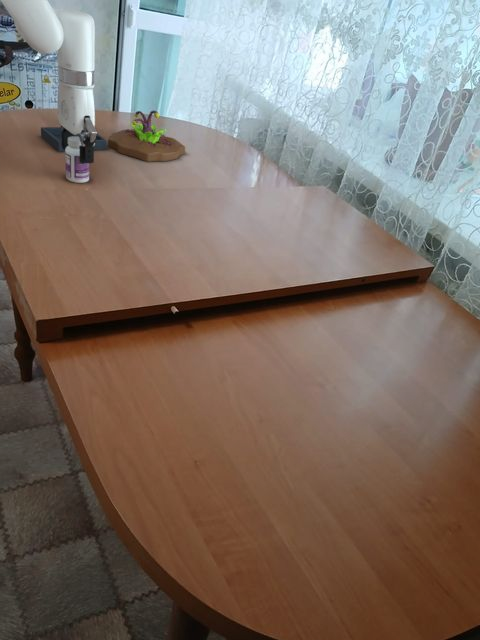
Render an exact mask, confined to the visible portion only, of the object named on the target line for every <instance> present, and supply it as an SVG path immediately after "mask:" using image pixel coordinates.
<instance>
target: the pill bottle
mask: <svg viewBox="0 0 480 640" xmlns="http://www.w3.org/2000/svg"><path fill="white" fill-rule="evenodd" d="M84 140H85V139H84ZM68 145H69V146H67V147H66V149H65V152H64V155H65V156H64V158H65V178H66V180H68V181H69V182H72V183H75V184H84V183H87V182H88V181H90V163H86V164H81V163H80V149H79V146H80V145H81V142H80V139H79V137H77V136H72V137H68Z"/></svg>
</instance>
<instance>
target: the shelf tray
mask: <svg viewBox="0 0 480 640" xmlns="http://www.w3.org/2000/svg"><path fill="white" fill-rule="evenodd" d="M84 131H85V130H82V131H81V132H84ZM76 136H77V137H79V135H78V134H77V135H76ZM83 137H84V139H86V137H88V136H83ZM40 138H41V139H43V140H44V141H45V142H46V143H48V144H49V145H50V146H51V147H52V148H54V149H55V150H56V151H57V152H58V153H61V152H64V153H65V149H63V148H62V130H61V126H40ZM107 141H108V140H107V139H105V137H103V136H102V135H100V134H99V133H97V135H96V141H95V146H94V151H106V150H107V148H108V145H107V143H108V142H107Z"/></svg>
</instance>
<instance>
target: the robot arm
mask: <svg viewBox="0 0 480 640" xmlns="http://www.w3.org/2000/svg"><path fill="white" fill-rule="evenodd" d="M0 2H1V3H2V6H3V7H4V8H5V10H6V11H7V12H8V14H9V16H10V17H11V19H12V21H13V23H14V27H15V29H16V31H17V33H18V34H19V36H20V37H21V38H22V39H23V40H24V41H25V42H26V44H28V46H29V47H30V48H31V49H33V50H34V51H36V52H37V53H40V54H43V55H51V54H52V55H53V54H55V53H56V52H57V76H58V77H57V78H58V79H57V81H58V86H57V105H56V107H57V108H56V109H57V111H56V112H57V114H56V115H57V116H56V117H57V122H58V123H59V125H60V127H61V130H62V148H63V149H66V147H67V146H69V145H68V137H72V136H76V135H77V134H78V135H79V139H80V142H81V145H80V146H79V149H80V163H81V164H86V163H89V164H93V163H94V162H95V150H94V146H95V141H96V135H97V134H98V131H97V129H96V115H95V114H96V113H95V98H94V88H95V85H96V84H95V82H96V81H95V80H96V79H95V76H96V75H95V74H96V73H95V69H96V67H95V65H96V64H95V62H96V61H95V60H96V59H95V57H96V56H95V53H96V52H95V51H96V44H95V43H96V42H95V41H96V39H95V37H96V34H95V33H96V25H95V19H94V18H93V16H92V15H91V14H89V13H87V12H85V11H81V10H76V9H67V8H66V9H64V8H63V9H60V8H56V7H52V5H51V4H50V2H49V1H48V0H0ZM82 130H85V131H84V132H81V131H82ZM83 136H88V137H86V139H85V140H84V137H83Z"/></svg>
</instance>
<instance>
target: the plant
mask: <svg viewBox="0 0 480 640" xmlns="http://www.w3.org/2000/svg"><path fill="white" fill-rule="evenodd" d="M140 115H141V117H142V118H139V117H140ZM153 115H154V118H156V119H160V112H158V111H157V110H151V111H150V112H149V114H148V116H147V117H146V116H145V114H144V113H143V112H142V111H140V110H137V111H136V112H135V113H134V116H135V117H136V118H135V119H133V120H132V123H130V126H131V127H132V129H130V128H127V129H122V130H120V131H118V132H114V133H111V134H110V135H109V136H108V142H107V143H108V145H107V148H111V149H114V150H116V152H117V153H118V154H122V155H125V156H128V157H132V158H135V159H138V160H142V161H144V162H170V161H173V160H177V159H179V157H180V156H182V155H185V154H186V146H185V145H183V144H182V143H181V142H180V141H178V140H177V139H175V138H174V137H170V136H166V135H165V134H163V133H164V132H166V131H167V129H165V128H161V129H159V130H157V126H156V125H155V124H153V125H152V116H153ZM140 122H141V123H140ZM156 130H157V131H156Z"/></svg>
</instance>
